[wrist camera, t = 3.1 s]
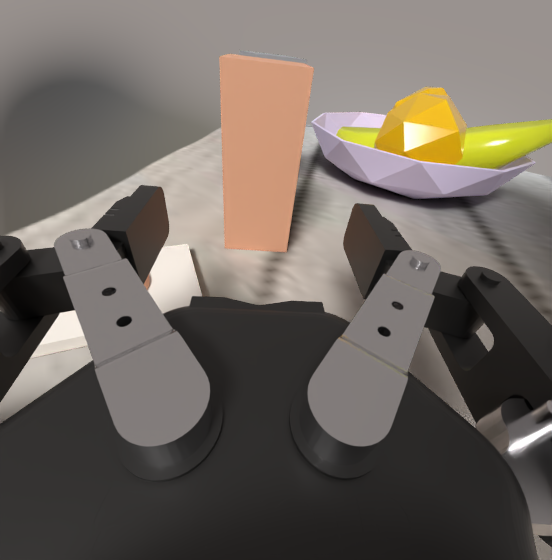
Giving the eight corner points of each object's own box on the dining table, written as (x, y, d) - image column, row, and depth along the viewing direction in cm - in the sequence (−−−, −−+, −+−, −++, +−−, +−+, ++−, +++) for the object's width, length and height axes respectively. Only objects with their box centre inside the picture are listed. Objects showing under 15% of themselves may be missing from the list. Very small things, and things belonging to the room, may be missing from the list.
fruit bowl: (269, 158, 40) (276, 61, 33) (383, 145, 54) (407, 73, 46) (446, 260, 24) (540, 111, 17) (547, 205, 37) (625, 108, 30)
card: (188, 252, 21) (187, 241, 20) (207, 319, 16) (206, 307, 16) (28, 274, 18) (20, 262, 17) (-9, 366, 13) (-22, 354, 12)
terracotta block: (283, 222, 26) (303, 63, 18) (286, 252, 22) (314, 68, 15) (230, 218, 26) (229, 53, 18) (224, 248, 22) (219, 56, 14)
